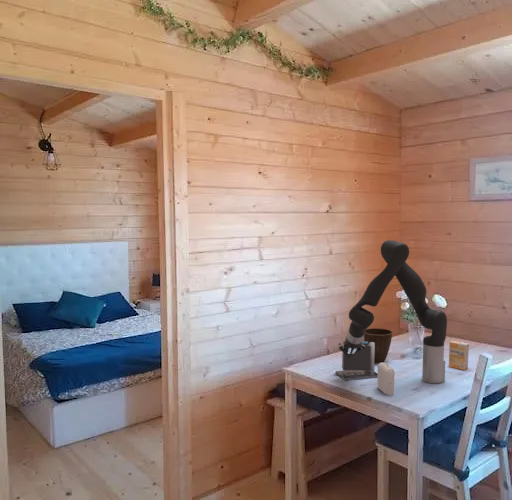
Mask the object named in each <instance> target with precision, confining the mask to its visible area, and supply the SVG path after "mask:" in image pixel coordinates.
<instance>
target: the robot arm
mask: <svg viewBox="0 0 512 500" xmlns="http://www.w3.org/2000/svg"><path fill="white" fill-rule="evenodd" d="M380 255H381V257H382V259H383V260H384V261H385V263H386V266H385V267H384V269H383V270H382V271H381V272H380V273H378V275H376V276H375V277H374V278H373V279H372V280H371V281H370V282H369V284H368V285H367V287H366V289H365V291H364V293H363V295H362V296H361V298H360V299H359V301H358V302H356V303H355V304H354V306H353V307H352V308H351V309H350V310H349V312H348V318H349V321H351V322H350V325H349V328H348V330H347V333H346V336H345V339H344V341H343V342H344V343H338V350H339V351H341V352H344V353H346V356H348V357H351V356H353V354H354V353H359V352H361V351H362V350H364V349H365V344H362V342H364V341H363V340H364V333H365V331H366V329H369V327H370V326H371V325H372V324H373V323H374V320H375V316H374V314H373V312H371V311H369V310H367V309H365V308H363V307H364V306H369V307H377V306H378V304H379V302H380V300H381V298H382V296H383V295H384V293H385V291H386V289H387V287H388V285H389V284H390V283H391V281H392V280H393V279H394V277H395V278H396V280H397V282H399V284H400V287H401V288H402V290H403V291H404V294H405V295H406V297H407V299H408V300H409V302H410V303H411V305H412V307H413V309H414V311H415V312H414V313H416V316H417V318H418V321H419V323H420V325H421V326H422V327H423V328H425V329H427V330H431V335H426V336H424V337H423V340H422V370H421V371H422V373H421V375H422V376H421V379H422V382H425V383H430V384H442V383H443V382H446V361H445V360H444V359H445V356H444V355H445V340H446V338H447V330H448V329H447V328H448V327H447V326H448V317H447V315H446V313H445V312H443V311H440V310H437V309H436V310H435V309H433V308H430V306H429V305H428V303H427V301H426V297H427V286H426V285H425V283H424V281H423V280H422V278H421V276H420V275H419V274H418V273H417V272H416V271H415V270H414V269H413V267H411V266H410V265H409V264H408V263H407V262H406V261H407V260H408V258H409V256H410V248H409V246H408V245H407V244H405V243H404V242H402V241H401V242H400V241H396V240H391V239H389V240H385V241H383V243H382V244H381V246H380ZM357 349H358V350H357Z"/></svg>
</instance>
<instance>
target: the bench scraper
mask: <svg viewBox="0 0 512 500" xmlns="http://www.w3.org/2000/svg"><path fill="white" fill-rule="evenodd" d="M344 342H345V341H343V343H344ZM343 343H342V344H343ZM362 344H365V349H364V350H362V351H361V352H359V353H354V354H353V356H351V357H348V356H346V353H344V352H342V351H341V352H342V353H341V355H342V356H341V369H342V371H343V370H369V371H375V363H374V353H375V343H374V342H370V345H369V344H368V342H365V341H362ZM357 350H358V349H357Z"/></svg>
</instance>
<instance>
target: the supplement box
mask: <svg viewBox="0 0 512 500" xmlns="http://www.w3.org/2000/svg"><path fill="white" fill-rule="evenodd" d="M469 350H470V343H467V342H463V341H458V340H451V341H450V342H449V349H448V351H449V353H448V367H449V368H452V369H457V370H462V371H465V370H468V368H469Z"/></svg>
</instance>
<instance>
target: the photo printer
mask: <svg viewBox="0 0 512 500" xmlns="http://www.w3.org/2000/svg"><path fill="white" fill-rule="evenodd" d="M377 373H378V378H377V385H376V386H377V389H379V391H381V392H383V394H384V395H387V396H393V395H394V393H395V370H394V367H392V366H391V365H390V364H389V363H387V362H384V363H378V364H377Z"/></svg>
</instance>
